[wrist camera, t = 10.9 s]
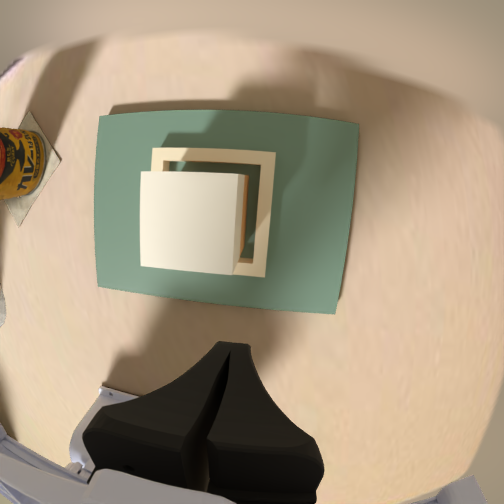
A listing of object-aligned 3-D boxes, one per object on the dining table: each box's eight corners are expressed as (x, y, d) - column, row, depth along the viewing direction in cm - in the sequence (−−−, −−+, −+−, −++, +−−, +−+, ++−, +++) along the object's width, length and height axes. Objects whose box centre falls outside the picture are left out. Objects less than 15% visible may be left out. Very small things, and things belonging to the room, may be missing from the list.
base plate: (104, 282, 22) (90, 291, 20) (106, 118, 18) (90, 113, 16) (332, 308, 21) (338, 322, 19) (354, 126, 18) (364, 120, 16)
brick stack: (177, 240, 19) (140, 266, 14) (180, 172, 18) (140, 171, 12) (244, 245, 19) (232, 275, 13) (249, 175, 18) (238, 173, 12)
